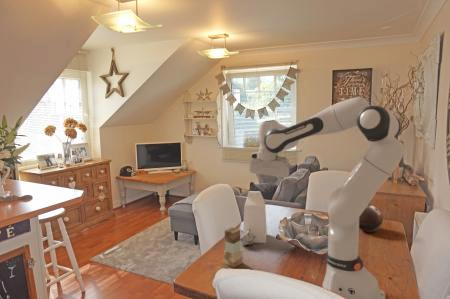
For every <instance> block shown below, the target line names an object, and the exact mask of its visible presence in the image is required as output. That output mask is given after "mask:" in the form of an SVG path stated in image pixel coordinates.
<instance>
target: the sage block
mask: <svg viewBox="0 0 450 299" xmlns="http://www.w3.org/2000/svg"><path fill="white" fill-rule="evenodd" d="M241 244H242V243H241V240H240V241H238V242H236V243H234V244H232V243H229V242H226V241H225V240H224V248H225V249H224V251H226V252H228V253H231V254H233V255H234V254H236V253H238V252H239V251H241V250H242V249H241V248H242V245H241Z"/></svg>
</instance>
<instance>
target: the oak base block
mask: <svg viewBox="0 0 450 299" xmlns="http://www.w3.org/2000/svg"><path fill="white" fill-rule="evenodd" d="M223 264H225V265H226V266H229V267H231V268H235V267H237V266H239V265H241V264H243V250H242V249H241V251H239V252H238V253H236V254H234V255H233V254H231V253H228V252H226V251H225V250H223Z"/></svg>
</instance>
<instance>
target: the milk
mask: <svg viewBox="0 0 450 299" xmlns="http://www.w3.org/2000/svg"><path fill="white" fill-rule="evenodd" d="M243 207H244V208H243V230H242V231H248V230H249V229H250V232H251V233H252V234H253V235H254V236H256V237H254V239H253V242H252V243H256V244H257V243H258V244H261V243H262V244H266V243H267V237H268V236H267V235H268V233H267V232H268V231H267V213H266V201H265V199H264V197H263V194H262V193H261V190H260V191H259V190H257V191H253V190H250V191H248V194H247V197H246V200H245V202H244V206H243Z"/></svg>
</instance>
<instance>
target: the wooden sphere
mask: <svg viewBox="0 0 450 299" xmlns="http://www.w3.org/2000/svg"><path fill="white" fill-rule="evenodd" d="M383 218H384V216H383V214H382V212H381V210H380V209H379V208H377V207H376V206H374V205H372V204H368V206H367V207H366V208H365V210H364V211H363V213H362V214H361V215H360V217H359V230H361V231H364V232H368V233H370V232H371V233H372V232H374V231H376V230H378V229H380V228H381V227H382V225H383V220H384V219H383Z"/></svg>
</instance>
